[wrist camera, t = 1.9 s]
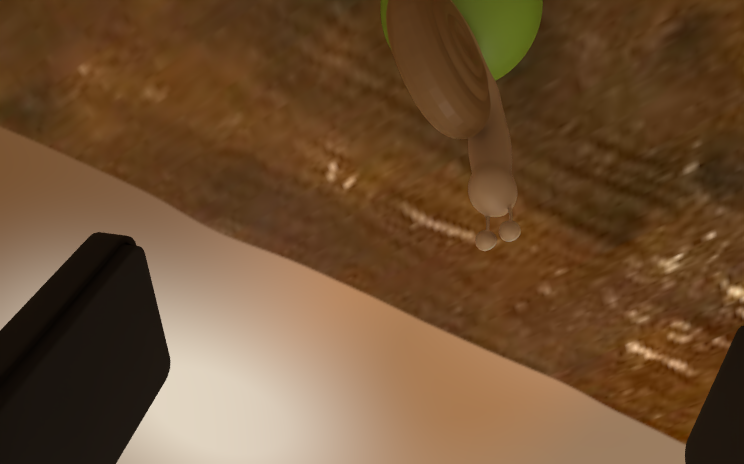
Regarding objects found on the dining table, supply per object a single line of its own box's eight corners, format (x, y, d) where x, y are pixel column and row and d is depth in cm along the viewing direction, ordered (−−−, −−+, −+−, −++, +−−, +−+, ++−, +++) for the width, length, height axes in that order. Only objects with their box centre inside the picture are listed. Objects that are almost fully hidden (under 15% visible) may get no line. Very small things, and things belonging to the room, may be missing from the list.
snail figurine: (451, 100, 27) (410, 285, 18) (367, -40, 24) (265, 87, 15) (577, 35, 25) (609, 209, 15) (498, -128, 22) (476, -42, 12)
